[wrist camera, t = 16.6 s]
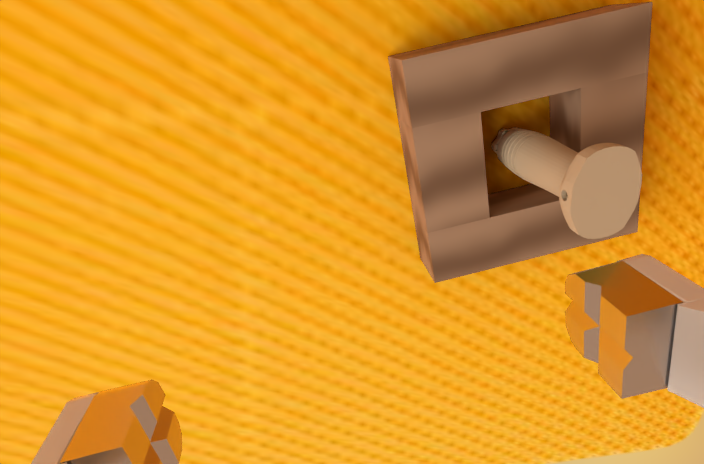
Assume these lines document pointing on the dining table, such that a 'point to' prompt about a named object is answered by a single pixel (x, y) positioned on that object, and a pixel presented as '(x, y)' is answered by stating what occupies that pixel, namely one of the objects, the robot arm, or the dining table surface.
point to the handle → (577, 178)
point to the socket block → (502, 90)
